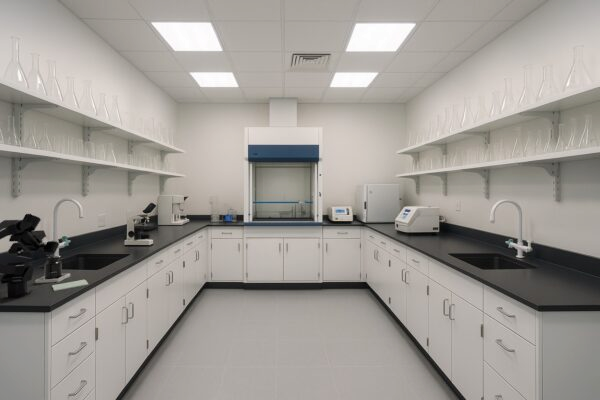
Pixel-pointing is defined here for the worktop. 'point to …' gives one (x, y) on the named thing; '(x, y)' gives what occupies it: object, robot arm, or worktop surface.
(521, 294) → the worktop surface
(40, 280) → the white square frame
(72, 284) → the mat
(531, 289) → the worktop surface
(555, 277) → the worktop surface
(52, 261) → the supplement bottle
